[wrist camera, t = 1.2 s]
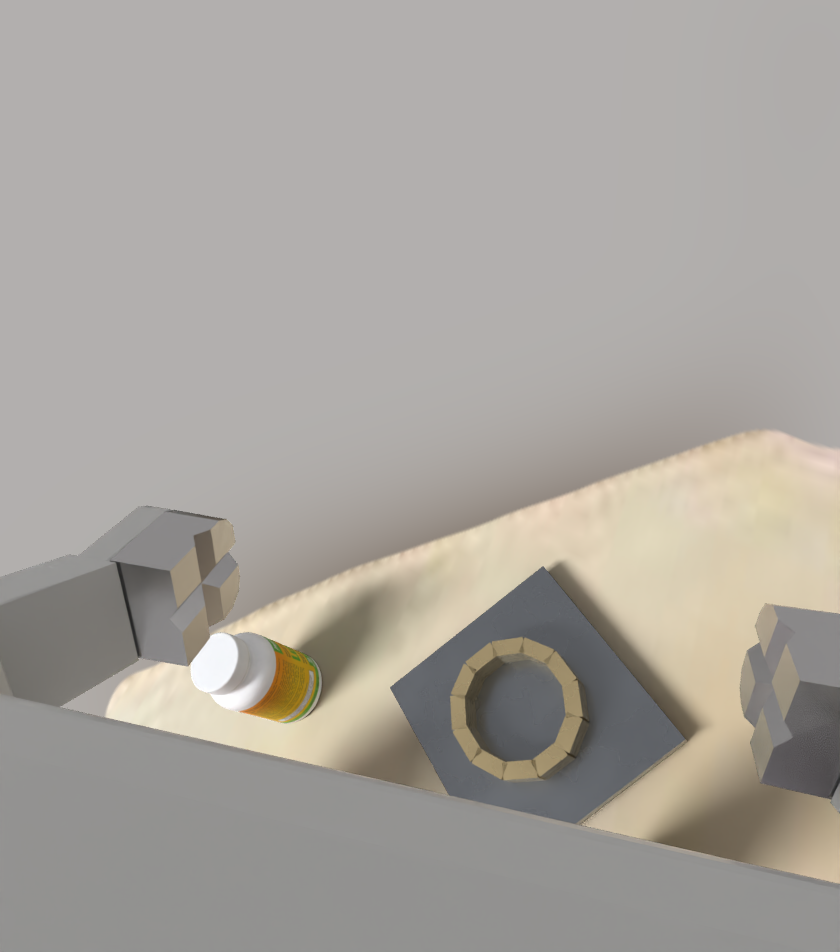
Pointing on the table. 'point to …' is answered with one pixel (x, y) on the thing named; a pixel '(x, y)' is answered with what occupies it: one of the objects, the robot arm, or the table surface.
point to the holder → (534, 709)
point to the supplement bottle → (257, 677)
